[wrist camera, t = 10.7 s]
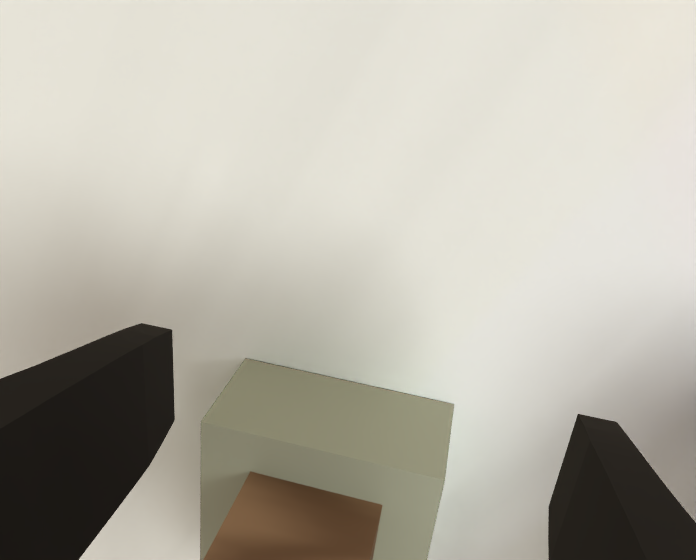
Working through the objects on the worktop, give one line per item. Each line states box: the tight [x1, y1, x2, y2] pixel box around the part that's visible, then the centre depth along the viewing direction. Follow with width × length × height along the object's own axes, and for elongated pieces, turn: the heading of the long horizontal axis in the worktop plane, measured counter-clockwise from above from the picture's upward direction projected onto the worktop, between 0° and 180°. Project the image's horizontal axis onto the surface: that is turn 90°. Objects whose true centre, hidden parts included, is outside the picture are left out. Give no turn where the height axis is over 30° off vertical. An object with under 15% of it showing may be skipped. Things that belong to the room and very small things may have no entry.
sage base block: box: [200, 359, 454, 560], centre depth 23 cm, size 8×8×4 cm
